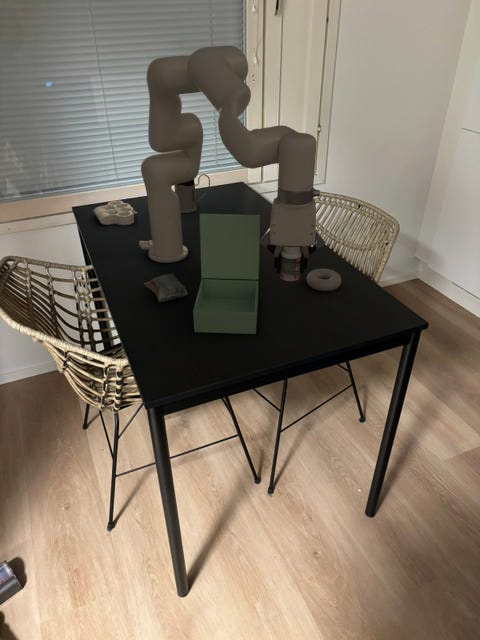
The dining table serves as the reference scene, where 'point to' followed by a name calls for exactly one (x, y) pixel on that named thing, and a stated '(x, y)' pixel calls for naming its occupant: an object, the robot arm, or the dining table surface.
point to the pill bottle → (290, 263)
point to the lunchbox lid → (230, 246)
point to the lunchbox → (226, 306)
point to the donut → (323, 279)
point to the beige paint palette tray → (115, 213)
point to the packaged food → (166, 287)
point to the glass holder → (188, 195)
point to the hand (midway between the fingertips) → (290, 270)
